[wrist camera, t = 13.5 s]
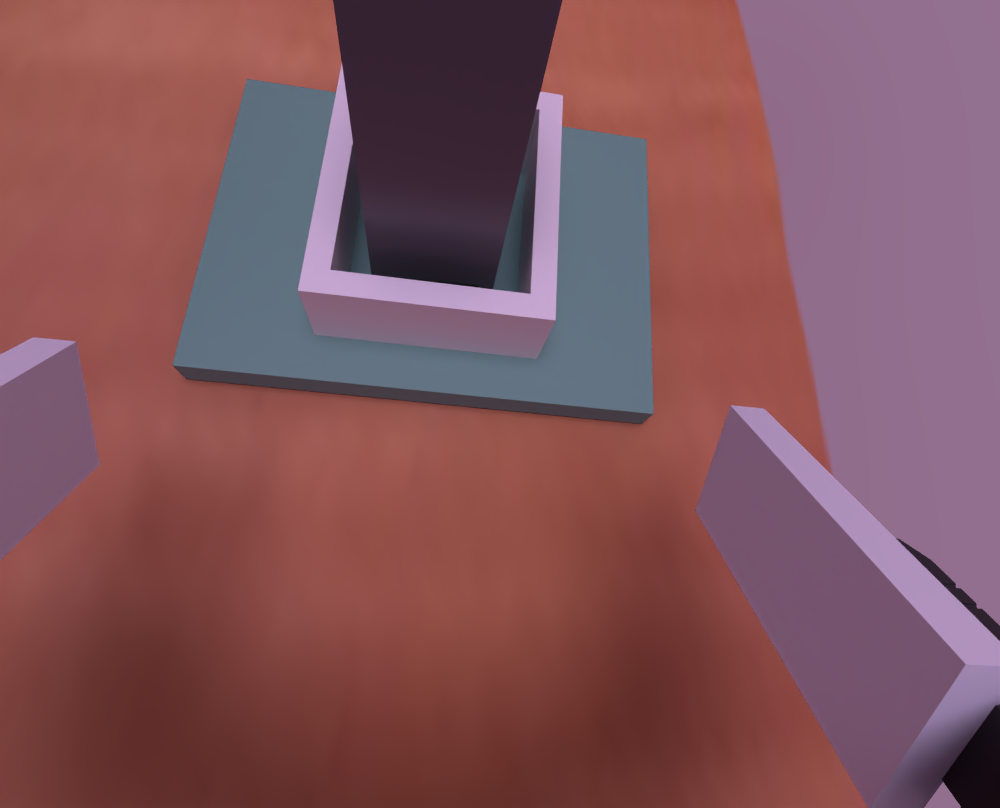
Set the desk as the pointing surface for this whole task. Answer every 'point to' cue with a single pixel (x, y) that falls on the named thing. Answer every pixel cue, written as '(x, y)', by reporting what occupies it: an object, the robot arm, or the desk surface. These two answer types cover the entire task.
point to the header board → (416, 302)
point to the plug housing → (441, 126)
